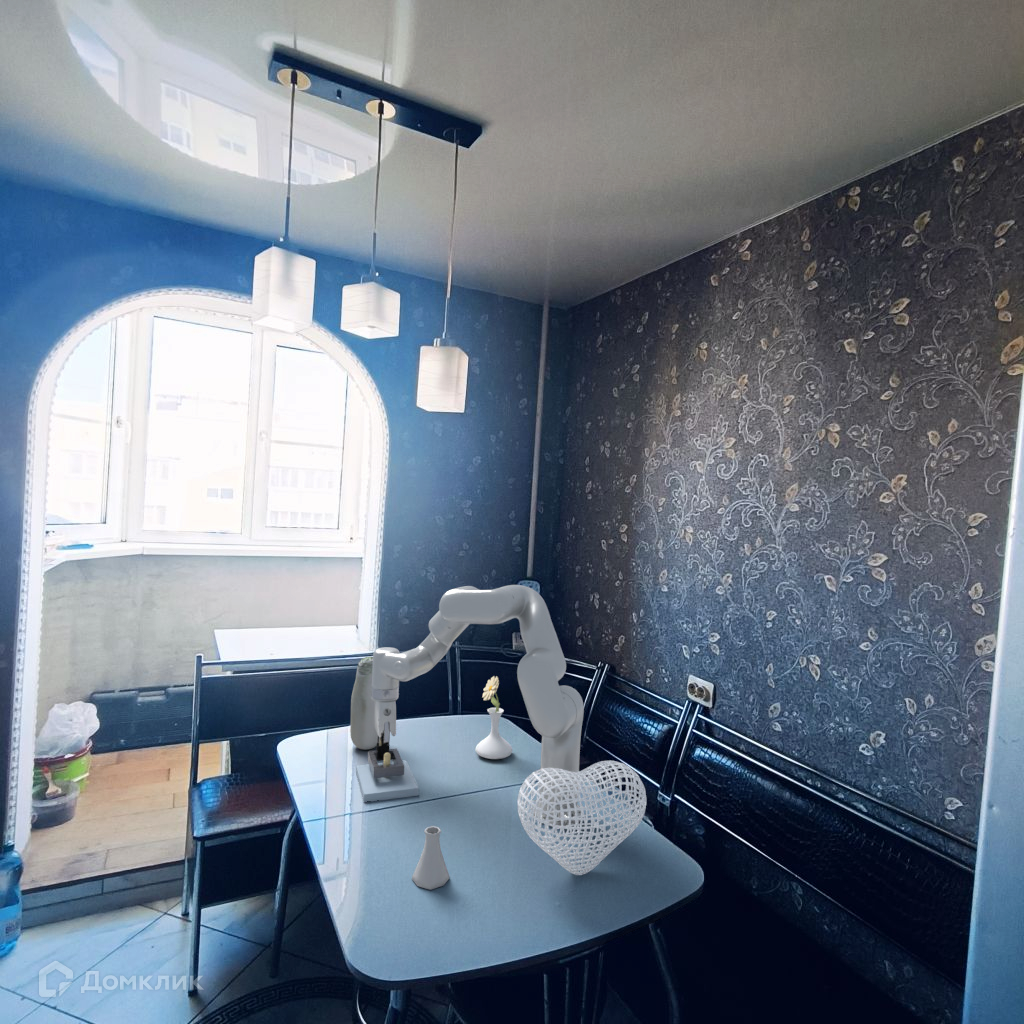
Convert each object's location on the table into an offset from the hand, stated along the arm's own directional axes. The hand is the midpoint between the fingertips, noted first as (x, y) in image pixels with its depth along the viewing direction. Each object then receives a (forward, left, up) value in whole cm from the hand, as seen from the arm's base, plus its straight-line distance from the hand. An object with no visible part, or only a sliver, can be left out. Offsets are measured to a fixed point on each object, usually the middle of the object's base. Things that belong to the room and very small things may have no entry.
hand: (382, 757), depth 173 cm
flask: (-53, -2, -4) cm, 53 cm away
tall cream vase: (+18, +2, -4) cm, 19 cm away
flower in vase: (+2, -34, -4) cm, 34 cm away
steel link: (-5, 0, -1) cm, 5 cm away
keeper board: (-8, 0, -4) cm, 9 cm away
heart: (-60, -32, -4) cm, 68 cm away
